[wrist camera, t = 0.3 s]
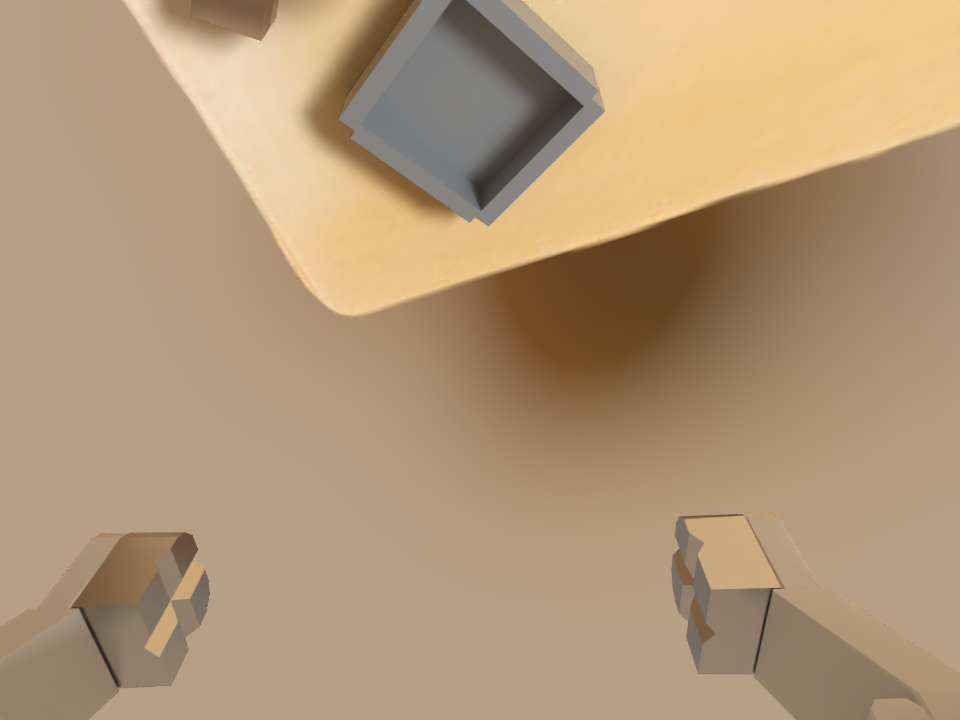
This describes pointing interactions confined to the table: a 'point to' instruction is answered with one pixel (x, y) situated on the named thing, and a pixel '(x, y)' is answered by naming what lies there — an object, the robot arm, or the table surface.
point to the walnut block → (238, 15)
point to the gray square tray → (472, 102)
